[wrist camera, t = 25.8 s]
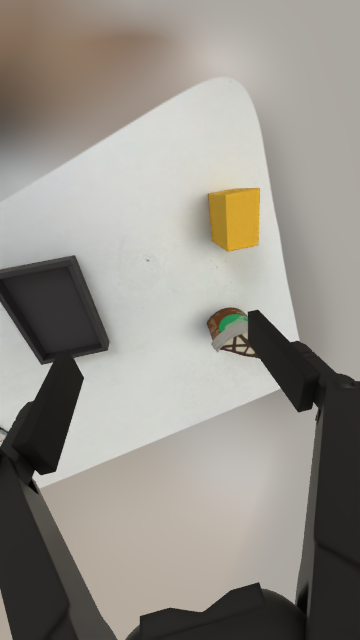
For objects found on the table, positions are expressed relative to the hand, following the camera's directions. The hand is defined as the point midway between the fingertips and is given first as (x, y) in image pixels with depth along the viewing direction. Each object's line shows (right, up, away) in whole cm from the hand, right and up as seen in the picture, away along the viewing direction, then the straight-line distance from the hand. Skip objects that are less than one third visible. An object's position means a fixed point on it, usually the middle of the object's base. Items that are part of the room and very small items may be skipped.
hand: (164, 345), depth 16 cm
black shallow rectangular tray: (-20, +4, +23) cm, 31 cm away
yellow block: (+8, +19, +19) cm, 28 cm away
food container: (+12, +3, +30) cm, 32 cm away
